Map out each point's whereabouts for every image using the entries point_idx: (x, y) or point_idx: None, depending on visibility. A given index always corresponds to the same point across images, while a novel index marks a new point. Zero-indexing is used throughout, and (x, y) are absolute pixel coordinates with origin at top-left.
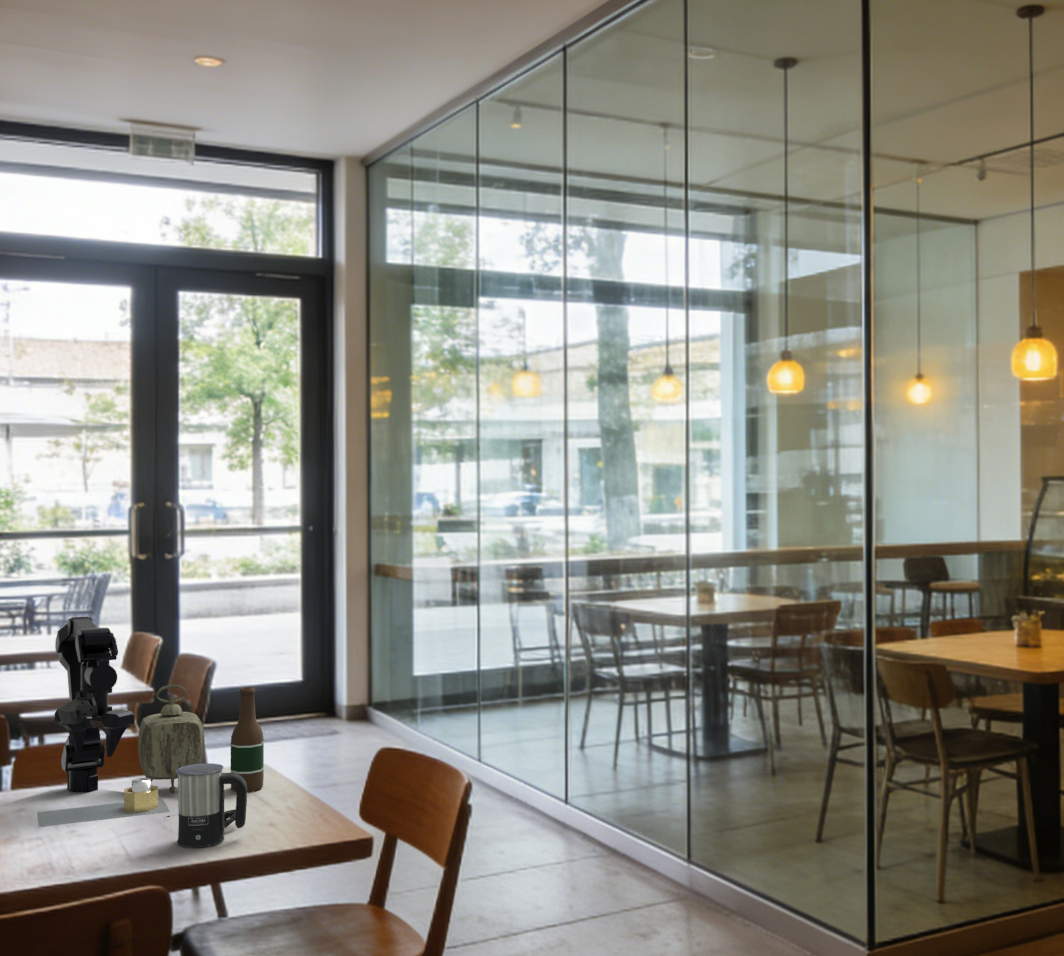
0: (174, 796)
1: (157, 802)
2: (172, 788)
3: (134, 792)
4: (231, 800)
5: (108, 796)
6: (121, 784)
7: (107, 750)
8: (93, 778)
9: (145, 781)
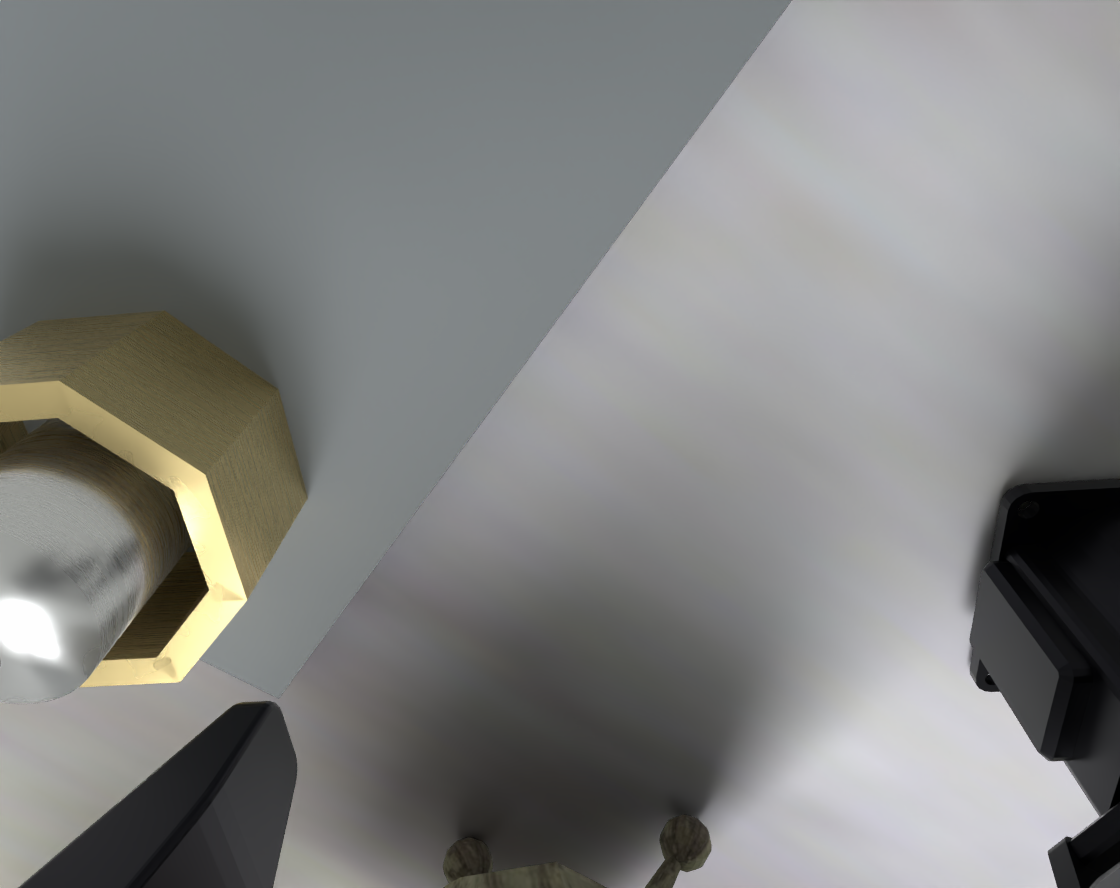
0: (388, 801)
1: None
2: (452, 866)
3: (25, 457)
4: (3, 868)
5: (838, 628)
6: (986, 847)
7: (163, 809)
8: (1040, 694)
9: None
